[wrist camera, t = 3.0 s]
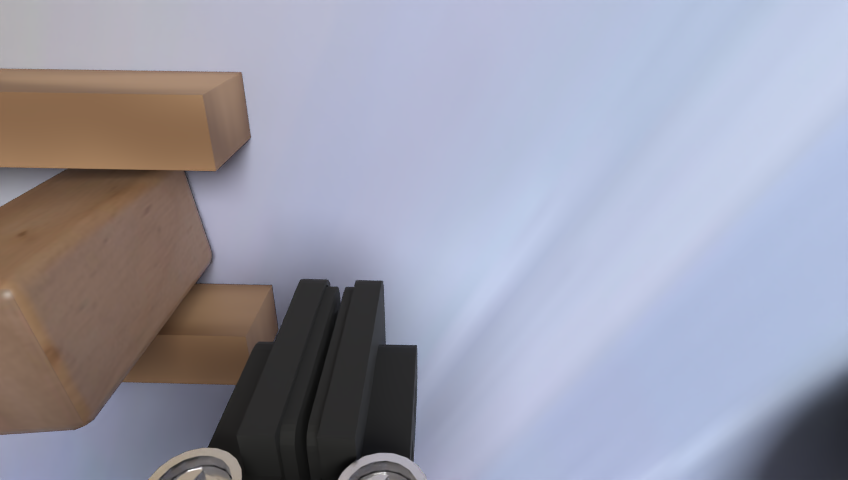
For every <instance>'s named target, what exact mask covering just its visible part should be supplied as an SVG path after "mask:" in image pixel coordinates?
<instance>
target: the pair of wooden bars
mask: <svg viewBox="0 0 848 480" xmlns="http://www.w3.org/2000/svg"><path fill="white" fill-rule="evenodd" d="M250 138H251V136H250V129H249V122H248V115H247V108H246V101H245V94H244V87H243V80H242V73H241V72H191V71H123V70H56V69H0V167H23V168H79V169H135V170H191V171H217V170H218V169H219V168H220V167H221V166H222V165H223V164H224V163H225V162H226V161H227V160H228V159H229V158H230V157H231V156H232V155H233V154H234V153H235V152H236V151H237V150H238V149H239V148H240V147H241V146H243V145H244V144H245V143H246V142H247V141H248V140H249V139H250ZM277 332H278V324H277V317H276V311H275V304H274V297H273V290H272V285H238V284H194V286H193V287H192V288H191V290H190V291H189V293H188V294H187V295H186V297H185V298H184V299H183V301H182V302H181V303H180V305H179V306H178V307H177V309H176V310H175V311H174V313H173V314H172V315H171V317H170V318H169V319H168V321H167V322H166V323H165V325H164V326H163V327H162V329H161V330H160V331H159V333H158V334H157V335H156V337H155V338H154V339H153V341H152V342H151V344H150V345H149V346H148V348H147V349H146V350H145V352H144V353H143V354H142V356H141V357H140V358H139V360H138V361H137V362H136V364H135V365H134V366H133V368H132V369H131V370H130V372H129V373H128V374H127V376H126V377H125V378H124V380H123V381H122V382H142V383H182V384H223V385H236V384H237V382H238V380H239V378H240V376H241V373H242V371H243V369H244V367H245V365H246V362H247V360H248V358H249V356H250V354H251V351H252V349H253V348H254V346H255V344H256V343H258V342H259V341H260V342H273V341H274V339H275V336H276V334H277Z"/></svg>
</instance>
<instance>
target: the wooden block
mask: <svg viewBox="0 0 848 480" xmlns="http://www.w3.org/2000/svg"><path fill="white" fill-rule="evenodd" d="M211 257H212V252H211V249H210V246H209V243H208V240H207V237H206V234H205V231H204V228H203V225H202V222H201V219H200V216H199V213H198V210H197V207H196V204H195V201H194V198H193V195H192V193H191V190H190V187H189V184H188V181H187V178H186V175H185V172H184V170H135V169H79V168H68V169H66V170H64V171H62V172H61V173H59V174H57V175H55V176H54V177H52V178H50V179H48V180H47V181H45V182H43V183H41V184H40V185H38V186H36V187H34V188H33V189H31V190H29V191H27V192H26V193H24V194H22V195H20V196H19V197H17V198H15V199H13V200H12V201H10V202H8V203H6V204H5V205H3V206H1V207H0V435H6V434H21V433H35V432H50V431H64V430H76V429H78V428H81V427H83V426H85V425H87V424H88V423H90V422H91V421H92V420H94V419H95V417H96V416H97V415H98V413H99V412H100V411H101V409H102V408H103V407H104V405H105V404H106V403H107V401H108V400H109V399H110V397H111V396H112V395H113V393H114V392H115V391H116V389H117V388H118V386H119V385H120V384H121V382H122V381H123V380H124V378H125V377H126V376H127V374H128V373H129V372H130V370H131V369H132V368H133V366H134V365H135V364H136V362H137V361H138V360H139V358H140V357H141V356H142V354H143V353H144V352H145V350H146V349H147V348H148V346H149V345H150V344H151V342H152V341H153V339H154V338H155V337H156V335H157V334H158V333H159V331H160V330H161V329H162V327H163V326H164V325H165V323H166V322H167V321H168V319H169V318H170V317H171V315H172V314H173V313H174V311H175V310H176V309H177V307H178V306H179V305H180V303H181V302H182V301H183V299H184V298H185V297H186V295H187V294H188V293H189V291H190V290H191V288H192V287H193V286H194V284H195V283H196V282H197V280H198V279H199V278H200V276H201V275H202V274H203V272H204V271H205V270H206V268H207V267H208V266H209V264H210V263H211Z"/></svg>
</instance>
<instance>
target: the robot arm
mask: <svg viewBox="0 0 848 480" xmlns="http://www.w3.org/2000/svg"><path fill="white" fill-rule="evenodd" d="M416 403H417V345H386V341H385V311H384V285H383V281H367V280H357V281H356V282H355V285H354V287H346V288H345V290H344V294H343V297H342V301H341V304H340V292H339V288H338V287H330V283H329V280H323V279H301V280H300V282H299V284H298V286H297V289H296V291H295V293H294V296H293V298H292V301H291V303H290V306H289V308H288V311H287V313H286V315H285V318H284V320H283V323H282V325H281V328H280V330H279V333H278V335H277V337H276V340H275V342H260V341H259V342H258V343H256V344H255V346H254V348H253V349H252V351H251V354H250V356H249V358H248V360H247V362H246V365H245V367H244V369H243V371H242V373H241V376H240V378H239V380H238V382H237V384H236V387H235V389H234V391H233V393H232V395H231V398H230V400H229V402H228V404H227V406H226V409H225V411H224V413H223V415H222V417H221V420H220V422H219V424H218V426H217V428H216V431H215V433H214V435H213V437H212V439H211V442H210V444H209V446H208V448H199V449H195V450H190V451H186V452H184V453H182V454H180V455H178V456H175V457H173V458H172V459H170V460H169V461H167V462H166V463H165V464H163V465H162V466H160V467H159V468H158V469H157V470H156V471H155V472H154V474H153V475H152V476H151V477H150V478H149V479H148V480H427V479H426V476H425V474H424V473H423V472H422V470H421V469H420V468H419V466H418V465H417V464H415V463H414V444H415V425H416Z"/></svg>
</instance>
